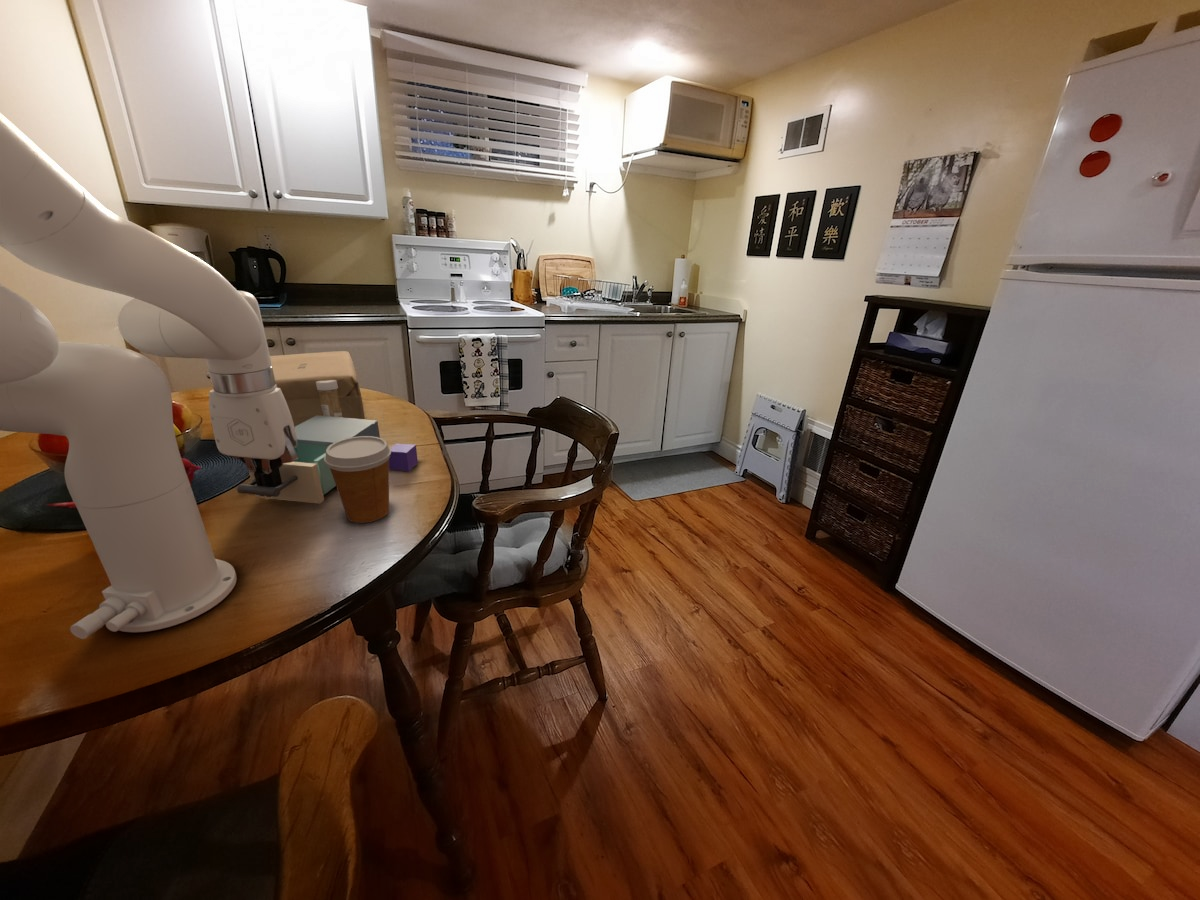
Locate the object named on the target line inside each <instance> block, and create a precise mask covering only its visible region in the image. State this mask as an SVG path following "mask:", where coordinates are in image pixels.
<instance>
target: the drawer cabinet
mask: <svg viewBox="0 0 1200 900" xmlns="http://www.w3.org/2000/svg"><path fill="white" fill-rule="evenodd" d="M379 428H380V427H379V422H378V420H377V419H366V418H365V419H355V418H343V417H331V416H320V415H316V416H314V417H312V418H310V419H309V420H307V421H305V422H303V423H301V424H299V425H297V426H295V431H296V436H297V443H299V444H310V445H321V446H330V445H331V444H333V443H335V442H337V441H340V440H342V439H346V438H351V437H358V436H373V437H379V438H381V434H380V429H379Z"/></svg>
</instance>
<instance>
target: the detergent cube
mask: <svg viewBox="0 0 1200 900" xmlns="http://www.w3.org/2000/svg"><path fill="white" fill-rule="evenodd" d="M390 448H391V455H390V458H389V471H401V472H411V470H412V469H413V468H414V467H415V466H417V464H418V463H419V459H418V450H417V444H412V443H399V442H396V443H395V444H393V445H392V446H391V447H390Z"/></svg>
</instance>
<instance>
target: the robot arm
mask: <svg viewBox="0 0 1200 900" xmlns="http://www.w3.org/2000/svg"><path fill="white" fill-rule="evenodd" d="M0 247H1V248H3V249H4V250H6V251H7V252H9V253H10V254H12V255H13V256H14V257H15V258H17V259H19V260H20V261H21V262H23V263H25V264H26V265H29V266H30V267H32V268H34V269H37V270H39V271H42V272H44V273H48V274H49V275H52V276H56V277H59V278H62V279H64V280H68V281H71V282H73V283H77V284H80V285H83V286H88V287H92V288H94V289H95V288H96V289H99V290H104V291H108V292H112V293H116V294H120V295H123V296H127V297H130V298H133V299H131V300H129V301H128V302H126V303H125V304H124V305H123V306H122V307H121V309H120V310H119V312H118V315H117V327H118V330H119V333H120V335H121V336H122V338H123V339H124V340H125V342H126V343H128V344H129V345H130V346H131V347H132V348H134V349H136V350H137V351H140V352H142V353H145V354H146V355H147V354H148V355H152V356H157V357H163V358H164V357H165V358H178V359H201V360H203V359H204V360H205V364H206V368H207V371H206V373H205V375H206V378H207V379H208V380H210V383H211V386H212V389H210V390H209V393H208V408H209V417H210V423H211V428H212V433H213V437H214V441H215V445H216V448H217V450H218V452H219V453H221V454H222V455H225V456H228V457H230V458H233V459H236V460H240V461H241V462H242V463H243V464H244V465H246V468H247V470H249V471H250V472H251V473H254V476H255V480H256V484H257V486H266V487H277V486H279V485H280V484H282V480H281V475H280V471H279V468H280V467H281V466H282V464H284V463H290V462H293V461H294V460H296V459H297V458H298V456H297V453H296V451H295V449H294V448H296V447H297V436H296V431H295V427H294V423H293V420H292V417H291V414H290V411H289V408H288V405H287V403H286V400H285V398H284V396H283V393H282V391H281V389H280V388H277V385H276V381H275V377H274V372H273V368H272V363H271V358H270V356H271V355H270V350H269V345H268V341H267V337H266V332H265V327H264V323H263V319H262V318H263V317H262V314H261V313H262V312H261V310H260V309H261V308H260V305H259V302H258V300H257V298H256V297H255V295H253V294H252V293H250V292H248V291H245V290H237V288H236V287H234V286H233V284H231V282H229V280H228V279H227V278H226V277H224V276H223V275H222V274H221V273H220V272H219V271H217V269H215V268H214V267H213V266H211V265H210V264H208V263H207V262H206V261H204V260H202V259H201V258H199V257H198V256H196V255H194V254H193V253H191V252H189V251H187V250H185V249H183V248H182V247H180V246H178V245H176V244H174V243H172V242H171V241H168V240H166V239H165V238H163V237H161V236H159V235H158V234H156V233H154V232H152V231H150V230H149V229H146V228H145V227H142V226H140V225H138V224H136V223H135V222H133V221H130V220H128V219H126V218H125V217H122V216H120V215H118V214H116V213H115V212H113V211H111V210H110V209H108V208H107V207H106V206H104V205H103V204H102V203H101V202H100V201H98V200H97V199H96V198H95V197H94V196H93V195H92V194H91V193H90V192H89V191H88V190H87V189H86V188H85V187H84V186H82V185H81V184H80V183H79V182H78V181H77V180H75V178H73V177H72V176H71V175H70V174H69V173H68V172H67V171H65V169H63V168H62V166H60V165H59V164H58V163H57V162H56V161H54V159H53V158H51V157H50V156H49V155H48V154H47V153H45V151H44V150H43V149H41V147H39V146H38V145H37V144H36V143H35V142H34V141H33V140H32V139H31V138H29V137H28V136H27V135H26V134H25V133H24V132H23V131H22V130H21V129H20V128H19V127H17V126H16V124H14V123H13V122H12V121H11V120H10V119H9V118H7V117H6V115H4V114H3V113H2V112H1V111H0ZM136 350H132V349H131V348H130V349H129V348H126V347H122V346H118V345H113V344H104V343H94V342H81V341H80V342H78V341H77V342H76V341H60V340H59V337H58V334H57V331H56V329H55V327H54V325H53V323H52V322H51V321H50V320H49V318H48V317H47V316H46V315H45V314H44V313H43V312H42V311H41V310H39V308H38V307H36V306H35V305H34V304H33V303H31V302H30V301H28V300H27V299H26V298H24V297H23V296H21V295H19V294H18V293H16V292H15V291H13V290H11V289H10V288H8V287H6V286H5V285H2V284H1V283H0V431H1V432H10V433H25V434H26V433H28V434H45V435H53V436H64V437H65V438H66V439H67V441H68V452H67V456H66V459H65V464H64V469H63V470H64V471H63V473H64V474H63V475H64V480H65V485H66V488H67V491H68V493H69V495H70V497H71V500H72V502H74V503H75V505H76V507H77V508H76V509H77V512H78V513H79V516H80V518H81V520H82V522H83V525H84V527H85V529H86V531H87V534H88V537H89V538H90V540H91V542H92V545H93V547H94V549H95V552H96V554H97V556H98V558H99V561H100V563H101V564H102V567H103V569H104V572H105V574H106V576H107V578H108V581H109V583H110V585H109V586H107V587H106V588H105V589H103V590H102V591H101V593H102V595H103V598H104V600H103V601H102V602H101V603H99V605H98V608H97V609H96V610H95V611H93V612H92V613H89V614H87V615H85V616H84V617H82V618H81V619H80V620H78V621H76V622H75V623H73V624H71V626H70V627H69V630H70V633H71V634H72V635H73V636H74V637H76V638H78V639H80V640H86V639H88V638H89V637H90V636H92V635H93V634H95V633H96V632H98V631H99V630H100V629H103V627H104V626H105V627H106V629H108V630H109V631H110V632H114V633H117V632H118V631H119V632H124V633H147V632H153V631H159V630H163V629H167V628H171V627H175V626H177V625H180V624H183V623H186V622H188V621H190V620H192V619H194V618H197V617H199V616H200V615H202V614H204V613H206V612H207V611H210V610H211V609H213V608H214V607H216V606H217V605H218V604H219V603H221V602H222V601H223V600H224V599H226V598H227V597H228V596H229V594H230V593H231V592H232V591H233V589H234V588H235V586H236V584H237V580H238V578H237V573H236V569H235V568H234V566H233V565H232V564H231V563H229V562H227V561H225V560H221V559H217V558H215V554H214V551H213V548H212V545H211V543H210V540H209V537H208V533H207V531H206V530H207V529H206V527H205V525H204V522H203V519H202V515H201V513H200V509H199V507H198V504H197V501H196V497H195V495H194V492H193V488H192V484H191V485H190V482H189V480H188V477H187V474H186V471H185V468H184V465H183V462H182V459H181V458H182V456H181V453H180V452H181V451H180V449H179V446H178V441H177V437H176V431H175V427H174V425H175V424H174V415H173V398H172V389H171V385H170V382H169V380H168V377H167V375H166V373H165V372H164V371H163V370H162V368H161V367H160V366H159V365H158V364H157V363H156V362H155V361H153V359H150V358H149V357H147V356H146V355H144V354H142V353H140V352H137V351H136ZM249 471H248V472H249ZM260 496H264V495H260ZM267 497H271V496H267Z"/></svg>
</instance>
